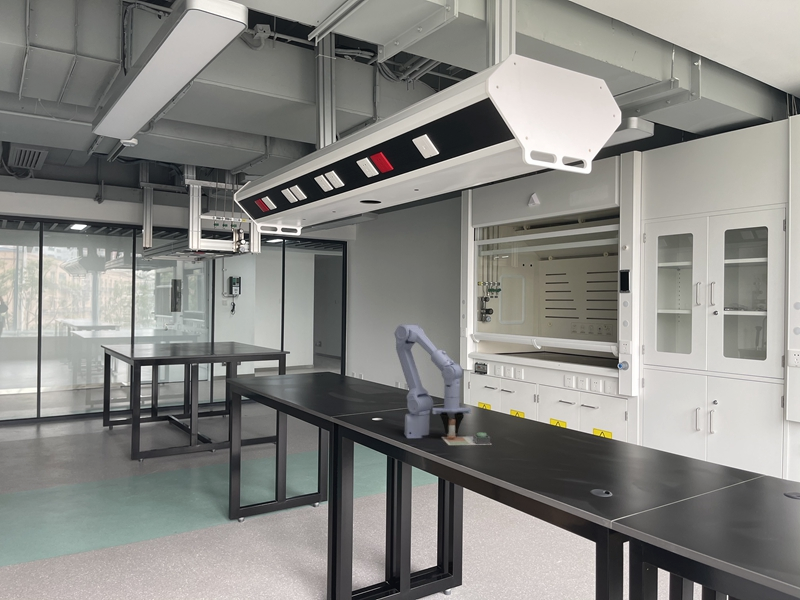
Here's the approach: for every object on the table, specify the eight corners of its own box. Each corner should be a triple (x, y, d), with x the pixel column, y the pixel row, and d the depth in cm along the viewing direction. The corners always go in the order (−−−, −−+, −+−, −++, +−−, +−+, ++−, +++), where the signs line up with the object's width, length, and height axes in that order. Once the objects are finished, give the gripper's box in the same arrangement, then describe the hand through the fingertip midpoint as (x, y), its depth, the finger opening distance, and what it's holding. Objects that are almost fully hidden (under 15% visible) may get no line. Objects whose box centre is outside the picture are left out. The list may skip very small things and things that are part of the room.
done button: (478, 439, 208) (478, 434, 208) (475, 437, 212) (475, 432, 212) (487, 439, 209) (487, 434, 209) (484, 437, 212) (484, 432, 212)
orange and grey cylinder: (448, 438, 213) (448, 419, 213) (446, 436, 216) (446, 417, 216) (456, 438, 213) (456, 419, 213) (454, 436, 216) (454, 417, 216)
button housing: (476, 444, 207) (476, 437, 207) (473, 441, 212) (473, 434, 212) (490, 444, 208) (490, 437, 208) (486, 440, 213) (486, 434, 213)
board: (448, 447, 205) (448, 444, 205) (440, 439, 218) (440, 436, 218) (491, 447, 208) (491, 444, 208) (481, 439, 220) (481, 436, 220)
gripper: (435, 398, 210) (434, 435, 210) (473, 398, 212) (473, 435, 212) (431, 395, 217) (430, 431, 217) (468, 395, 219) (468, 431, 219)
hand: (451, 433), depth 215 cm, fingers closed on orange and grey cylinder, 3 cm apart
